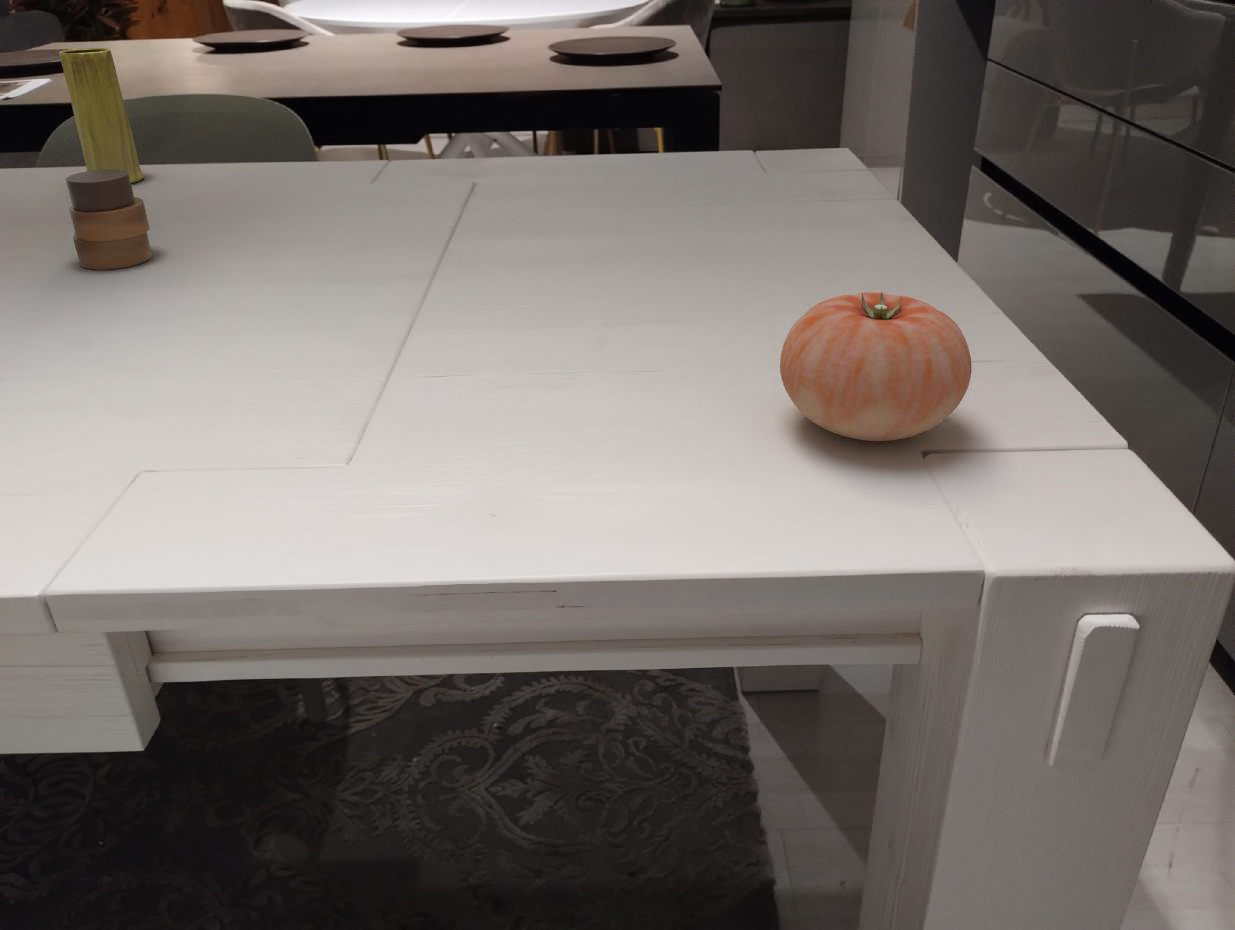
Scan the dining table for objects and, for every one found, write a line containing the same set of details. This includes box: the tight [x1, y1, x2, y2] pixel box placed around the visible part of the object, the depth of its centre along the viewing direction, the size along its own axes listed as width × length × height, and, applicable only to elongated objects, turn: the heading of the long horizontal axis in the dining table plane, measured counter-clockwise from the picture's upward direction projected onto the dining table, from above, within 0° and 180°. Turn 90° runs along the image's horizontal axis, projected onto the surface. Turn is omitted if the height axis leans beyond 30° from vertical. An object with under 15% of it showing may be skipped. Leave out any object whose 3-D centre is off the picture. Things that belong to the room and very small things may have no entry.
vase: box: [58, 47, 145, 184], centre depth 116 cm, size 6×6×14 cm
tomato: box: [779, 291, 973, 442], centre depth 59 cm, size 11×11×8 cm
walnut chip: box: [65, 169, 135, 212], centre depth 89 cm, size 5×5×2 cm
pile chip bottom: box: [72, 231, 153, 271], centre depth 91 cm, size 6×6×2 cm
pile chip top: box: [68, 196, 150, 242], centre depth 90 cm, size 6×6×2 cm
